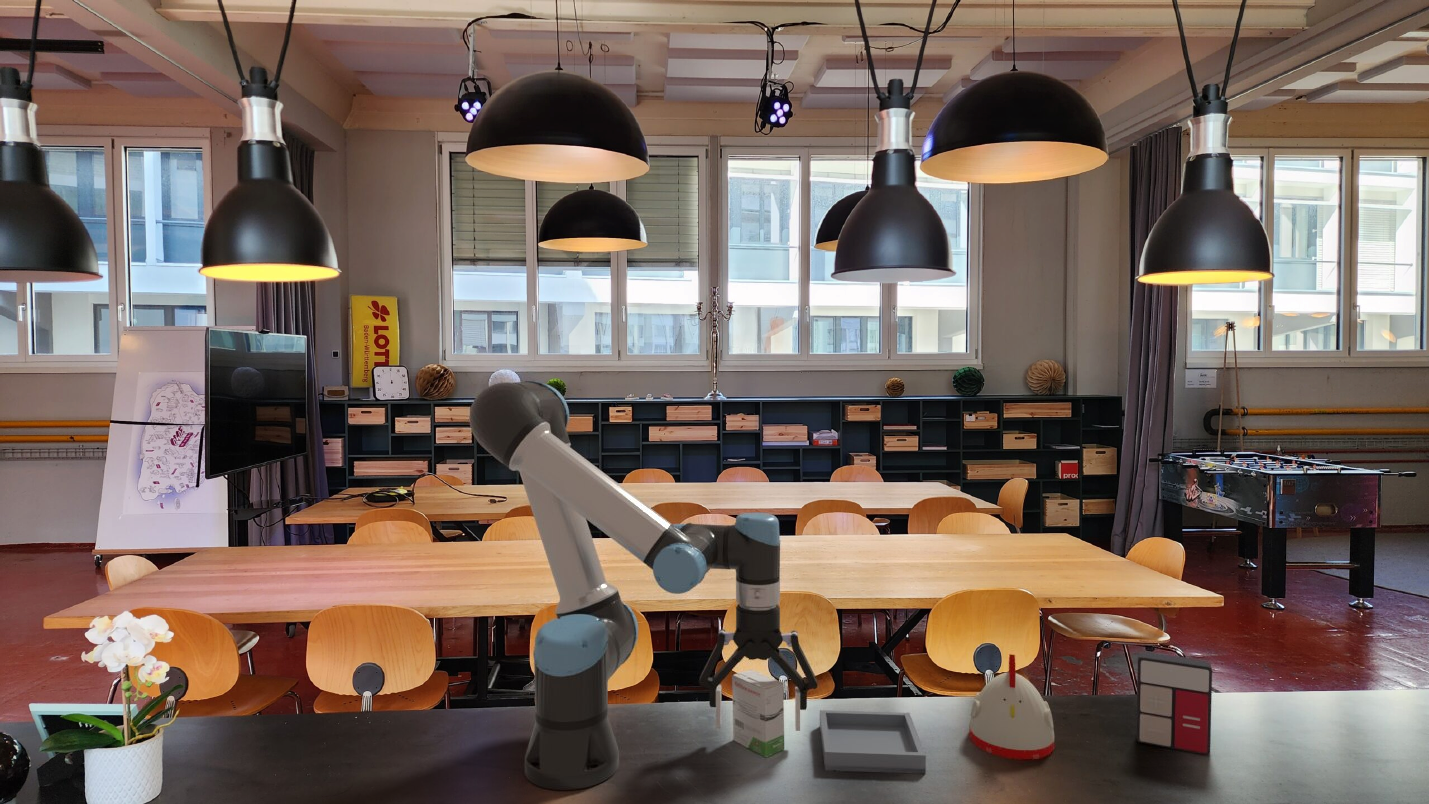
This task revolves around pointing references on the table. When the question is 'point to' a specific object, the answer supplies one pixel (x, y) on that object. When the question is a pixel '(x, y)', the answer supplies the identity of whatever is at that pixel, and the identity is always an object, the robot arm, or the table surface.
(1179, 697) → the calculator
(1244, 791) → the table surface
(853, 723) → the tray
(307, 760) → the table surface
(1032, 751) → the kitchen timer
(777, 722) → the ink box
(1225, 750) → the table surface
